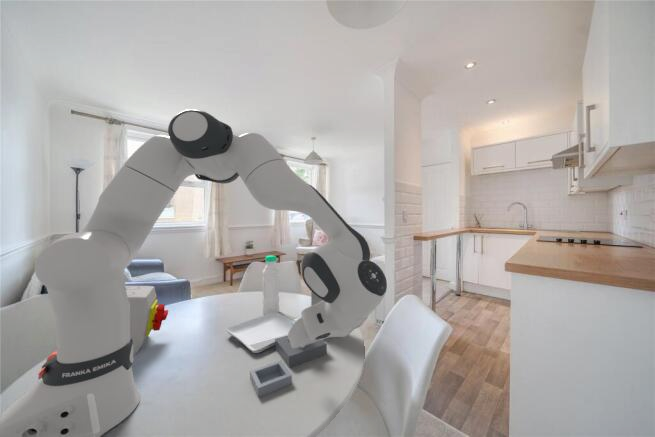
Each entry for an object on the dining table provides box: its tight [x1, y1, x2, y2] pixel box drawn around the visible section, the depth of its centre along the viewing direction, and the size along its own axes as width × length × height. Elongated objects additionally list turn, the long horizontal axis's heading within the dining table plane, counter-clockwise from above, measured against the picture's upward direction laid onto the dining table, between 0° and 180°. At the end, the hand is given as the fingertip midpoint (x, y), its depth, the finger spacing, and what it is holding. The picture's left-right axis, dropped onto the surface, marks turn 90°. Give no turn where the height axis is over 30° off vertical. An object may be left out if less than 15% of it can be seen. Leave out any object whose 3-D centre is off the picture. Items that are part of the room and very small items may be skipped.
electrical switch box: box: [125, 285, 169, 356], centre depth 78 cm, size 15×15×20 cm
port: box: [274, 335, 328, 368], centre depth 72 cm, size 12×11×5 cm
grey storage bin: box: [249, 360, 293, 398], centre depth 59 cm, size 8×7×3 cm
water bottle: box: [262, 254, 280, 315], centre depth 104 cm, size 7×7×25 cm
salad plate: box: [225, 312, 294, 354], centre depth 84 cm, size 21×21×3 cm
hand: (319, 338), depth 63 cm, fingers open, 8 cm apart
